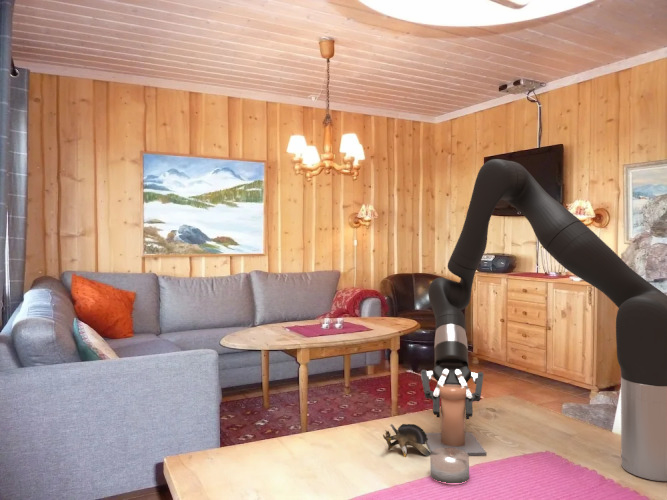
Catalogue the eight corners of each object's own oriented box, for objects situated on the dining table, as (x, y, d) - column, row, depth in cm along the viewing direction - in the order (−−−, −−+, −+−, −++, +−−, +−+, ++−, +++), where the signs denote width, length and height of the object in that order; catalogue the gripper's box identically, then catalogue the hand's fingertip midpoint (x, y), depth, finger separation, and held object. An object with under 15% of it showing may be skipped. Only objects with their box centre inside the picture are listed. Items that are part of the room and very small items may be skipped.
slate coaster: (471, 434, 112) (471, 432, 112) (486, 455, 101) (486, 452, 101) (422, 435, 112) (422, 432, 112) (432, 456, 101) (432, 453, 101)
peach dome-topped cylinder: (462, 436, 110) (462, 383, 110) (469, 447, 104) (469, 391, 104) (437, 437, 110) (436, 383, 110) (442, 447, 104) (442, 391, 104)
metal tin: (463, 467, 96) (463, 447, 96) (473, 485, 89) (473, 463, 89) (427, 468, 96) (427, 447, 96) (434, 485, 89) (434, 463, 89)
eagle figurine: (384, 455, 99) (429, 450, 97) (380, 419, 103) (424, 414, 101) (391, 462, 105) (433, 458, 104) (387, 428, 109) (428, 423, 108)
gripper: (419, 338, 115) (417, 406, 104) (483, 340, 113) (489, 410, 101) (420, 356, 121) (419, 422, 109) (482, 358, 118) (487, 427, 106)
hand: (452, 416), depth 105 cm, fingers open, 5 cm apart
